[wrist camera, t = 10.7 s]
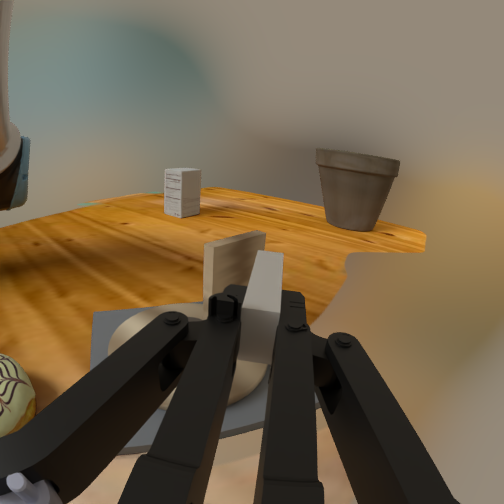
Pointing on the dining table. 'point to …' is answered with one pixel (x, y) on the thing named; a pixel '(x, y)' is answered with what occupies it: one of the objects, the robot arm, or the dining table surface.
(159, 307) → the dial
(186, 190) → the supplement box
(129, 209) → the dining table surface
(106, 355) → the dial plate
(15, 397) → the decorated donut
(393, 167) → the plant pot
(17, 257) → the dining table surface
